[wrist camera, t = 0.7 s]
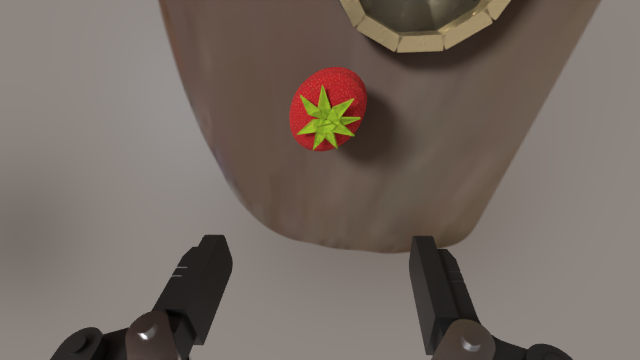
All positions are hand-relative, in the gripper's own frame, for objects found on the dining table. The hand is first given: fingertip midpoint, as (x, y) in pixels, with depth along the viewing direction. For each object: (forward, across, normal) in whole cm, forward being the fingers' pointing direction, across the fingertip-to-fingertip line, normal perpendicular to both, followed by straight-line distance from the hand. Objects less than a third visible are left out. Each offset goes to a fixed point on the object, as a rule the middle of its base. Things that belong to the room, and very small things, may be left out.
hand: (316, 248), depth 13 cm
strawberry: (+21, 0, 0) cm, 21 cm away
